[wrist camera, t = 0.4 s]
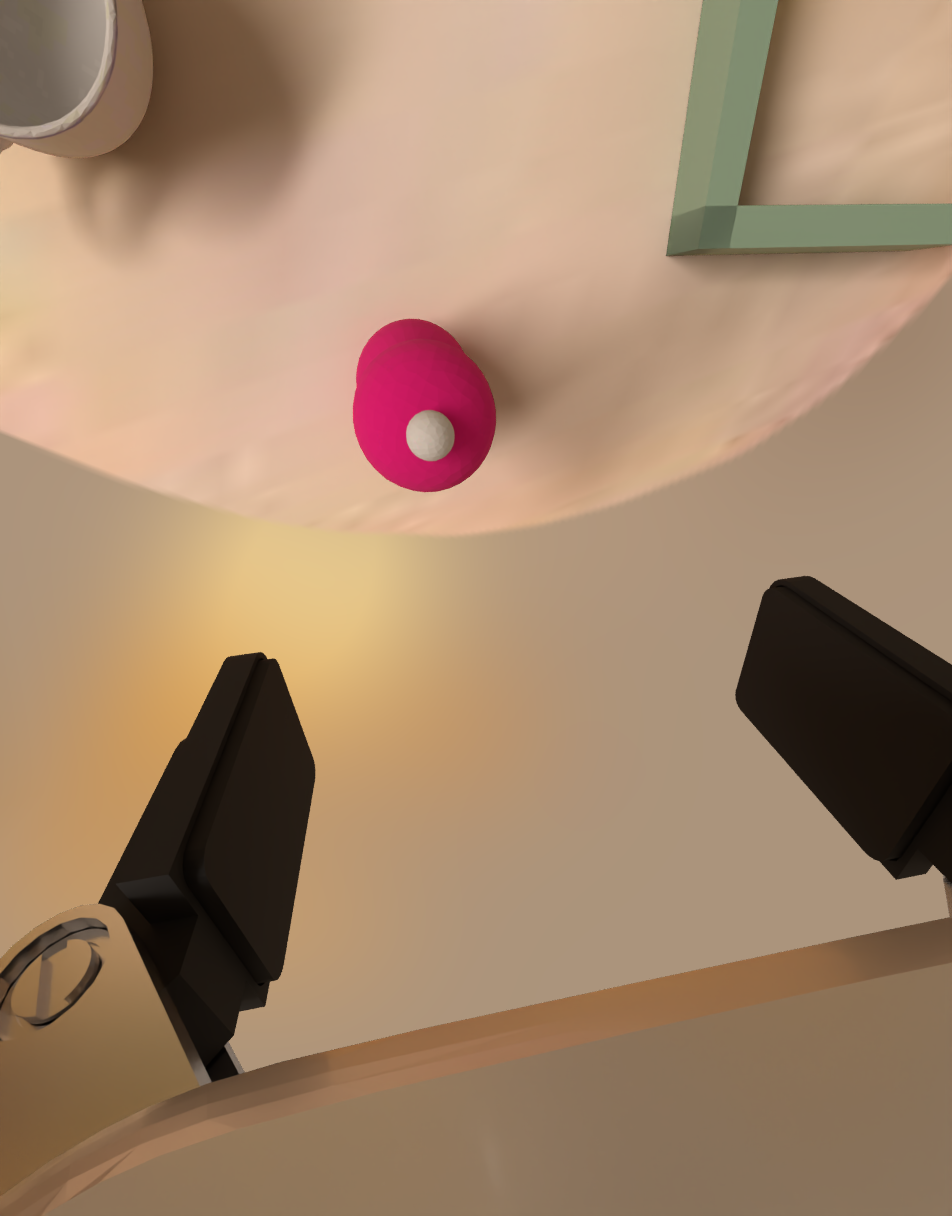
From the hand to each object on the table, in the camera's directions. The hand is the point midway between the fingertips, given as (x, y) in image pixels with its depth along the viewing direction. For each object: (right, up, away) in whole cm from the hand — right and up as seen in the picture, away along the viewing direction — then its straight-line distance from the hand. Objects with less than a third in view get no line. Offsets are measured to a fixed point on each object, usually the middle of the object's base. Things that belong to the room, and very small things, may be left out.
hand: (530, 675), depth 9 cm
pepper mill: (-5, +18, +25) cm, 31 cm away
